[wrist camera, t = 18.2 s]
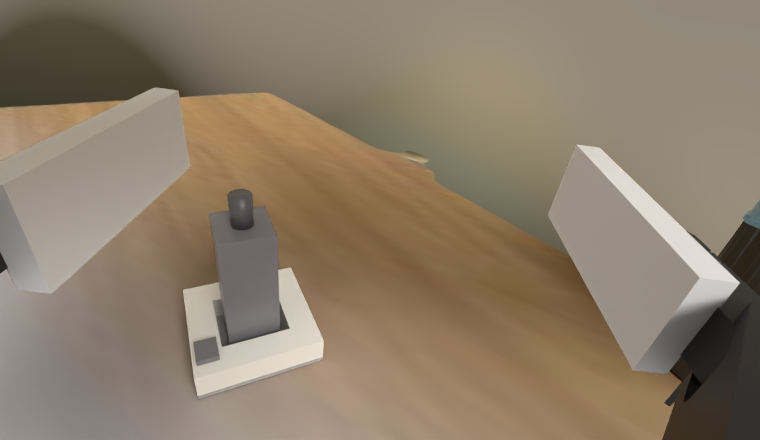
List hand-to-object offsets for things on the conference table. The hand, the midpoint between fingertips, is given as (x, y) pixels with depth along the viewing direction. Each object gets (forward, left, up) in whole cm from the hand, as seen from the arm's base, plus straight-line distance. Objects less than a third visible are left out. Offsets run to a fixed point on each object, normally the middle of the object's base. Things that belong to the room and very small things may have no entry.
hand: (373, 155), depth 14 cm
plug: (+2, -20, -30) cm, 36 cm away
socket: (+2, -20, -30) cm, 36 cm away
